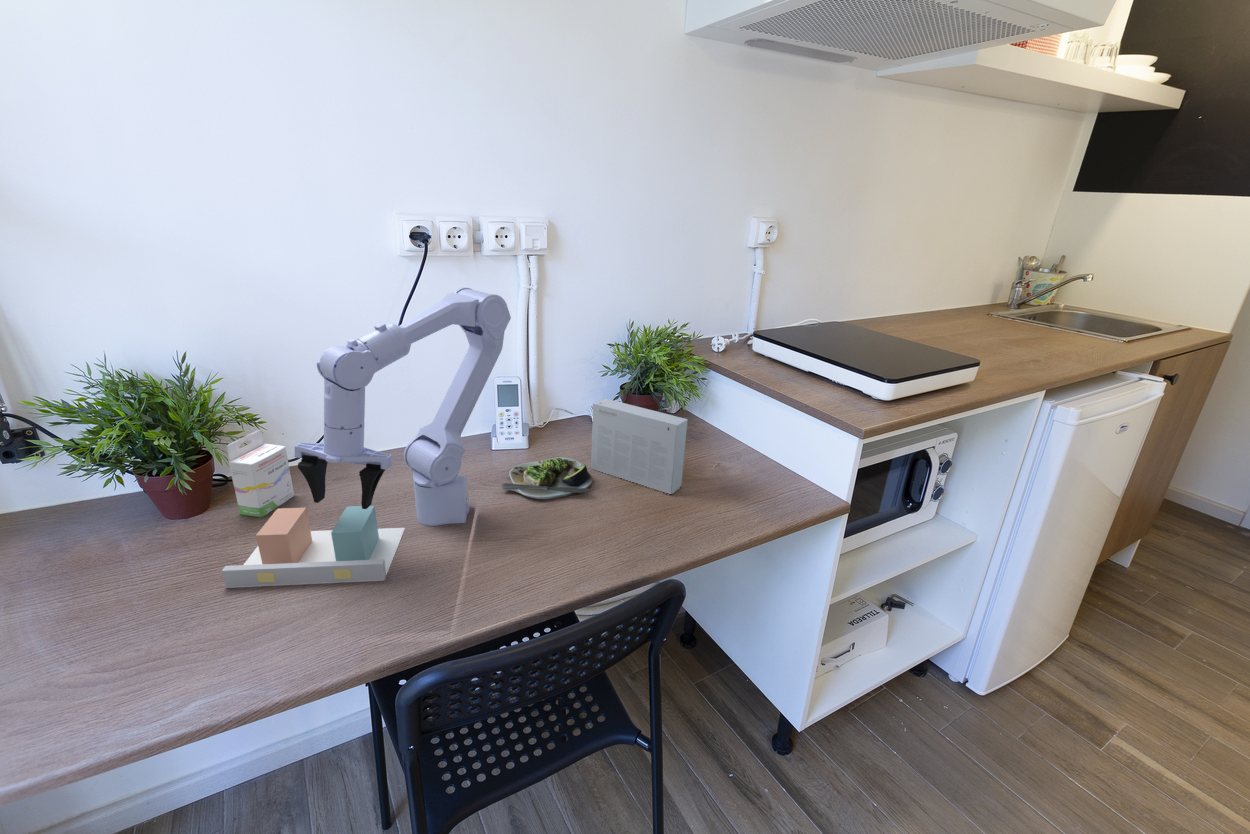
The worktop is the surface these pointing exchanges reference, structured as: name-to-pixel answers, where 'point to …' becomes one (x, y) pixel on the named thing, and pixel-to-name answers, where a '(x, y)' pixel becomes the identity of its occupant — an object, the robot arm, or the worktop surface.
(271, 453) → the ink box
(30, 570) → the worktop surface
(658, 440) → the skincare box
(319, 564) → the shelf board
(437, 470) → the robot arm
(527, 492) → the salad plate
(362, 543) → the teal carton
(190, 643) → the worktop surface
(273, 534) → the terracotta carton
